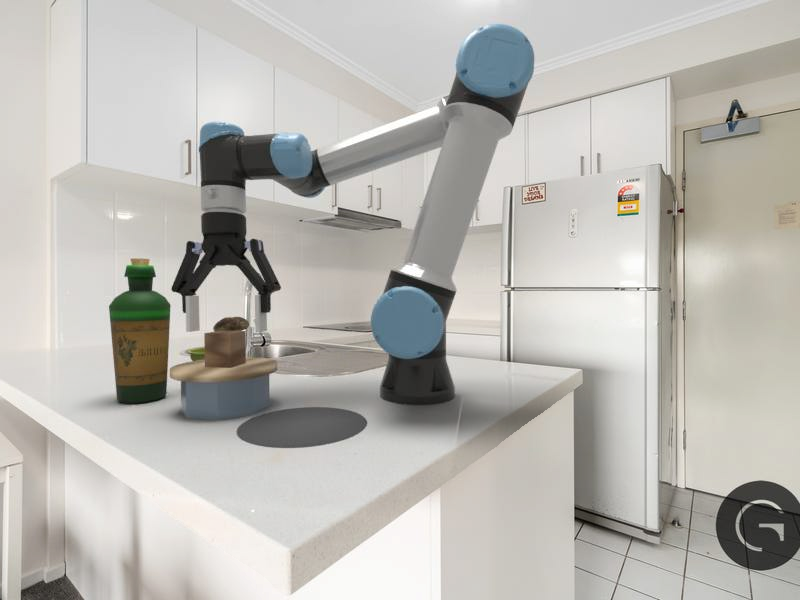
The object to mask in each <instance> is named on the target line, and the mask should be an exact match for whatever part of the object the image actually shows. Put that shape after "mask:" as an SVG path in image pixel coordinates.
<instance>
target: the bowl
mask: <svg viewBox="0 0 800 600" xmlns="http://www.w3.org/2000/svg"><path fill="white" fill-rule="evenodd" d="M180 399H181V400H180V408H181V409H180V410H181V413H183V415H184V417H186V419H202V420H217V421H218V420H224V419H231V418H235V417H242V416H248V415H253V414H256V413H258V412H259V411H261V410H263V409H264V408H266V407H268V406H270V404H271V403H270V402H271V401H270V374H268V375H265V376H261V377H256V378H251V379H244V380H236V381H225V382H185V381H180Z"/></svg>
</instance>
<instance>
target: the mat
mask: <svg viewBox="0 0 800 600" xmlns="http://www.w3.org/2000/svg"><path fill="white" fill-rule="evenodd" d="M367 424H368V421H367V419H366V417H364V416H363V414H360V413H358V412H356V411H352V410H349V409H344V408H339V407H327V406H308V407H306V406H305V407H294V408H293V407H292V408H286V409H281V410H274V411H270V412H267V413H266V412H265V413H262V414H260V415H257V416H254V417H251V418H249V419H247V420H245V421H244V422H242V423H241V424H240V425H239V426H238V427H237V429H236V435H237V437H238V438H239V439H240V440H241V441H244V442H246V443H247V444H250V445H255V446H258V447H265V448H271V449H272V448H274V449H300V448H302V449H303V448H310V447H311V448H312V447H313V448H314V447H319V446H325V445H330V444H334V443H338V442H342V441H345V440H348V439H350V438H353V437H354V436H356V435H359V434H360V433H361V432H363V431H364V430H365V429H366V427H367Z"/></svg>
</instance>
